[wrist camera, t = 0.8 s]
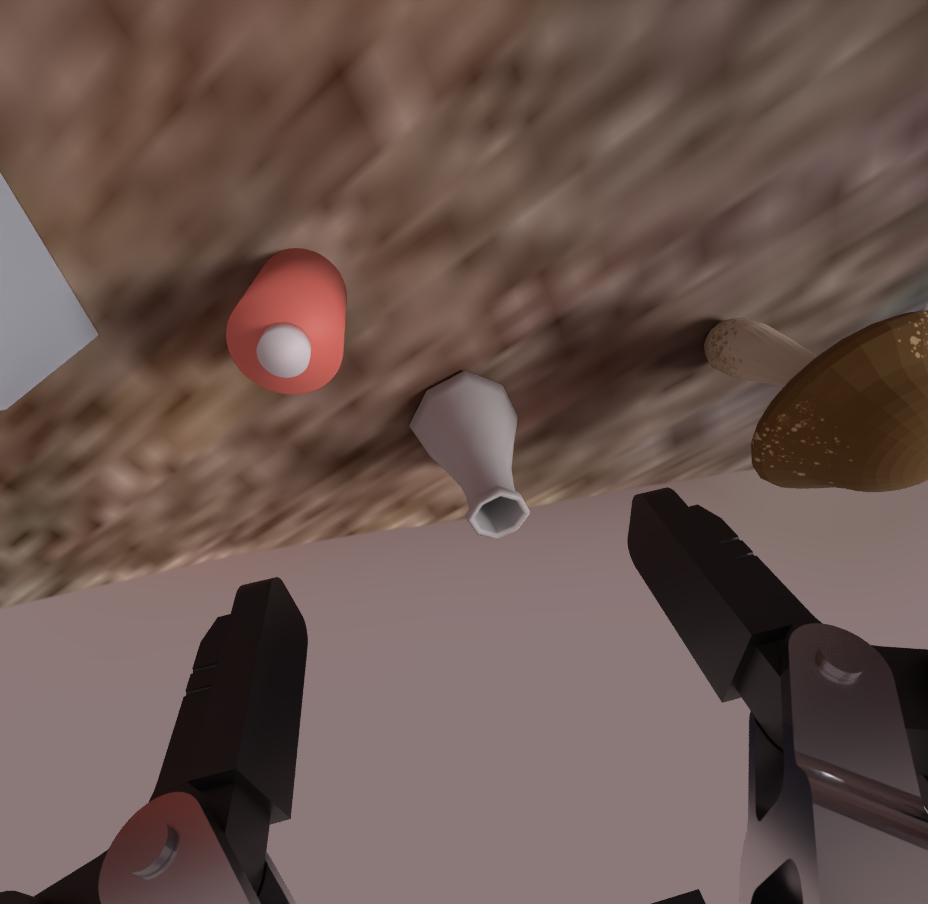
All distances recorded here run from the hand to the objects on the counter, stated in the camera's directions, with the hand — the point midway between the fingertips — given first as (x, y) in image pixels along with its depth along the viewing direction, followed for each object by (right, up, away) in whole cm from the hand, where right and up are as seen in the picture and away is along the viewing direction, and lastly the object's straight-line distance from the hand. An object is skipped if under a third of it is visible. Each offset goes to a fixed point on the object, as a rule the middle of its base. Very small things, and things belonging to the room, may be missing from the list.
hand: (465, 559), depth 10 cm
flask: (0, +5, +22) cm, 22 cm away
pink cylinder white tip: (-9, +11, +15) cm, 20 cm away
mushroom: (+18, +11, +21) cm, 30 cm away
